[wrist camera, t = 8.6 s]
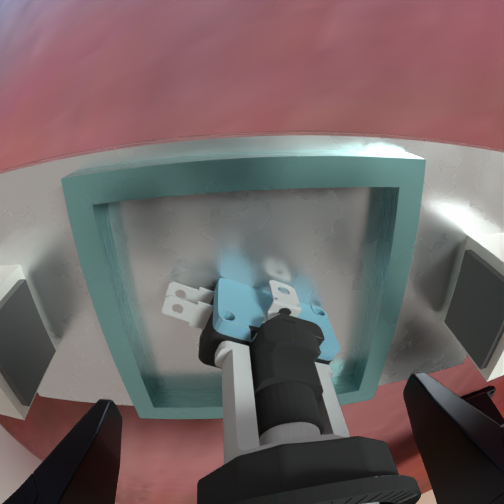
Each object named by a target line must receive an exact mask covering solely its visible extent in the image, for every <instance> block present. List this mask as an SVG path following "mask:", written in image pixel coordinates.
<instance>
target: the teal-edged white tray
mask: <svg viewBox="0 0 504 504" xmlns="http://www.w3.org/2000/svg"><path fill="white" fill-rule="evenodd" d="M498 233H504V149H499V148H493V147H487V146H482V145H476V144H469V143H462V142H455V141H448V140H440V139H432V138H423V137H413V136H402V135H390V134H375V133H357V132H327V131H276V132H246V133H227V134H212V135H200V136H188V137H178V138H169V139H160V140H152V141H144V142H136V143H129V144H122V145H116V146H110V147H104V148H98V149H92V150H86V151H81V152H76V153H71V154H66V155H61V156H56V157H52V158H47V159H43V160H38V161H34V162H30V163H26V164H22V165H18V166H14V167H10V168H7V169H3V170H0V266H2V265H16V264H20V265H21V268H22V271H23V274H24V276H25V279H26V282H27V285H28V287H29V290H30V293H31V295H32V298H33V300H34V303H35V305H36V308H37V310H38V312H39V315H40V317H41V319H42V322H43V324H44V326H45V329H46V331H47V333H48V335H49V337H50V339H51V342H52V344H53V346H54V348H55V350H56V354H55V356H54V358H53V360H52V362H51V364H50V366H49V368H48V370H47V372H46V374H45V376H44V378H43V380H42V382H41V385H40V387H39V389H38V391H37V392H38V394H39V395H40V396H42V397H48V398H55V399H63V400H71V401H80V402H89V403H96V402H97V401H98V400H99V399H111V400H113V401H114V403H115V405H130V406H134V407H135V409H136V411H137V413H138V415H139V417H140V418H149V419H216V418H223V401H222V369H220V368H217V367H213V366H209V365H206V364H204V363H202V362H201V361H200V360H199V358H198V354H199V340H200V335H201V333H202V330H203V329H200V328H196V327H193V326H190V325H189V323H190V322H188V321H185V320H182V319H178V318H175V317H172V316H169V315H166V314H163V313H162V308H163V305H164V302H165V299H166V297H165V296H166V293H167V290H168V287H169V284H170V282H172V281H173V282H176V283H179V284H182V285H185V286H188V287H191V288H194V289H197V290H199V288H200V287H202V288H205V289H208V290H211V291H214V290H215V288H216V285H217V283H218V281H219V279H221V278H225V279H229V280H232V281H235V282H238V283H241V284H244V285H247V286H250V287H253V288H256V289H260V290H263V291H266V292H269V293H271V292H270V287H269V283H268V282H269V281H270V280H275V281H278V282H281V283H284V284H287V285H290V286H291V287H292V288H294V289H295V291H296V294H297V297H298V300H299V302H300V303H304V304H307V305H310V306H311V305H313V306H316V307H319V308H321V309H322V310H324V311H325V312H326V314H327V316H328V318H329V319H328V320H329V322H330V325H331V327H332V329H333V332H334V334H335V336H336V339H337V341H338V344H339V346H340V350H339V352H338V353H337V354H336V356H335V357H334V358H333V360H332V361H331V362H330V364H329V366H330V368H331V371H332V373H333V376H332V378H331V381H332V384H333V387H334V390H335V393H336V396H337V399H338V402H339V405H345V404H350V403H356V402H361V401H366V400H370V399H373V397H374V395H375V392H376V389H377V386H379V385H384V384H388V383H393V382H397V381H401V380H406V379H409V376H410V375H411V374H413V373H416V372H421V371H422V372H425V373H426V374H429V373H432V372H436V371H440V370H443V369H446V368H450V367H453V366H456V365H460V364H463V362H464V360H465V358H466V356H467V354H466V353H465V351H464V350H463V349H462V347H461V346H460V345H459V343H458V342H457V341H456V339H455V338H454V337H453V336H452V334H451V333H450V332H449V330H448V329H447V328H446V327H445V325H444V324H443V321H444V319H445V316H446V313H447V310H448V307H449V304H450V300H451V297H452V294H453V291H454V287H455V284H456V280H457V277H458V273H459V270H460V266H461V262H462V258H463V254H464V250H465V246H466V241H467V237H468V235H480V234H498ZM278 290H279V291H280V292H281V293H283V294H286V295H289V293H288V292H287V291H286V290H284V289H282V288H278ZM175 295H176V296H177V297H179V298H183V297H185V295H186V294H185V292H184V291H183V290H177V291H176V292H175ZM172 309H173V311H175V312H181V311H183V307H182V306H181V305H179V304H174V305H173V306H172Z"/></svg>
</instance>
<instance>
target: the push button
mask: <svg viewBox="0 0 504 504" xmlns="http://www.w3.org/2000/svg"><path fill="white" fill-rule="evenodd" d="M268 283H269V287H270V292H271V293H269V292H266V291H263V290H260V289H256V288H253V287H250V286H247V285H244V284H241V283H238V282H235V281H232V280H229V279H225V278H221V279H219V281H218V283H217V285H216V288H215V290H214V291H211V290H208V289H205V288H202V287H200V288H199V290H197V289H194V288H191V287H188V286H185V285H182V284H179V283H176V282H173V281H172V282H170V284H169V287H168V290H167V293H166V296H165V297H166V299H165V302H164V305H163V308H162V313H163V314H166V315H169V316H172V317H175V318H178V319H182V320H185V321H188V322H190V323H189V325H190V326H193V327H196V328H200V329H203V330H202V333H201V335H200V340H199V354H198V358H199V360H200V361H201V362H202V363H204V364H206V365H209V366H213V367H217V368H220V369H222V401H223V443H224V465H223V466H221V467H220V468H218V469H216V470H215V471H213V472H212V473H210V474H208V475H207V476H205V477H203V478H202V479H200V480H199V482H198V484H197V504H416V502H417V501H418V500H419V499H420V497H421V492H420V489H419V487H418V484H417V482H416V480H415V479H414V478H412V477H409V476H404V475H399V474H398V471H397V468H396V466H395V463H394V460H393V458H392V455H391V453H390V450H389V447H388V445H387V443H385V442H384V441H380V440H375V439H370V438H365V437H361V436H354V437H350V435H349V432H348V429H347V426H346V423H345V420H344V417H343V414H342V411H341V408H340V405H339V402H338V399H337V396H336V393H335V390H334V387H333V384H332V381H331V378H332V376H333V373H332V371H331V368H330V366H329V364H330V362H331V361H332V360H333V358H334V357H335V356H336V354H337V353H338V352H339V350H340V346H339V344H338V341H337V339H336V336H335V334H334V332H333V329H332V327H331V325H330V322H329V320H328V319H329V318H328V316H327V314H326V312H325V311H324V310H322V309H321V308H319V307H316V306H313V305H311V306H310V305H307V304H304V303H300V302H299V300H298V297H297V294H296V291H295V289H294V288H292V287H291V286H290V285H287V284H284V283H281V282H278V281H275V280H270V281H269V282H268ZM278 288H282V289H284V290H286V291H287V292H288V293H289V295H286V294H283V293H281V292H280V291H279V290H278ZM177 290H183V291H184V292H185V294H186V295H185V297H183V298H179V297H177V296H176V295H175V292H176V291H177ZM174 304H179V305H181V306H182V307H183V311H181V312H175V311H173V309H172V306H173V305H174Z"/></svg>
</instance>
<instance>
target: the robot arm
mask: <svg viewBox="0 0 504 504" xmlns="http://www.w3.org/2000/svg"><path fill="white" fill-rule="evenodd" d="M495 391H496V388H495V387H494V386H491V387H489V388H487V389H484V390H482V391H479V392H477V393H474V394H472V395H469V396H467V397H464V398H460V397H459V396H458V395H456V394H455V393H453V392H452V391H450V390H449V389H448V388H446V387H445V386H443V385H442V384H440V383H439V382H438V381H436V380H435V379H433V378H432V377H430V376H429V375H428V374H426V373H425V372H422V371H421V372H416V373H413V374H411V375H410V376H409V379H408V381H407V384H406V386H405V388H404V392H403V396H404V400H405V404H406V408H407V411H408V415H409V419H410V423H411V427H412V431H413V435H414V438H415V441H416V443H417V446H418V449H419V452H420V454H421V457H422V460H423V463H424V466H425V469H426V471H427V474H428V477H429V480H430V483H431V486H432V489H433V492H434V495H435V498H436V502H437V504H504V419H503V417H502V416H501V414H500V412H499V411H498V409H497V408H496V406H495V405H494V403H493V402H492V400H491V397H492V396H493V394H494V393H495ZM121 432H122V417H121V414H120V412H119V411H118V409H117V407H116V405H115V403H114V401H113V400H111V399H99V400H98V401H97V402H96V403H95V404H94V405H93V406H92V408H91V409H90V410H89V411H88V412H87V413H86V414H85V415H84V416H83V417H82V419H81V420H80V421H79V422H78V423H77V424H76V425H75V426H74V427H73V429H72V430H71V431H70V432H69V433H68V434H67V435H66V436H65V437H64V439H63V440H62V441H61V442H60V443H59V444H58V445H57V446H56V447H55V449H54V450H53V451H52V452H51V453H50V454H49V455H48V456H47V457H46V459H45V460H44V461H43V462H42V463H41V464H40V465H39V466H38V468H37V469H36V470H35V471H34V474H31V475H30V476H29V478H28V479H27V480H26V481H25V482H24V483H23V484H22V485H21V486H20V488H19V489H17V490H16V492H14V493H13V494H12V495H11V496H10V497H9V498H8V499H7V500H6V501H5V502H4V503H2V504H115V497H116V489H117V482H118V475H119V468H120V454H121Z"/></svg>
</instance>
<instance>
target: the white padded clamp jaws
mask: <svg viewBox="0 0 504 504" xmlns="http://www.w3.org/2000/svg"><path fill="white" fill-rule="evenodd" d="M443 324H444V325H445V327H446V328H447V329H448V330H449V332H450V333H451V334H452V336H453V337H454V338H455V339H456V341H457V342H458V343H459V345H460V346H461V347H462V349H463V350H464V351H465V353H466V354H467V355H468V357H469V358H470V359H471V361H472V362H473V364H474V365H475V366H476V368H477V369H478V370H479V372H480V373H481V375H482V376H483V378H484V379H485V380H486V382H487V381H490V380H492V379H495V378H497V377H499V376H502V375H504V233H498V234H480V235H468V237H467V241H466V246H465V250H464V254H463V258H462V262H461V266H460V270H459V273H458V277H457V280H456V284H455V287H454V291H453V294H452V297H451V300H450V304H449V307H448V310H447V313H446V316H445V319H444V321H443ZM55 354H56V350H55V348H54V346H53V344H52V342H51V339H50V337H49V335H48V333H47V331H46V329H45V326H44V324H43V322H42V319H41V317H40V315H39V312H38V310H37V308H36V305H35V303H34V300H33V298H32V295H31V293H30V290H29V287H28V285H27V282H26V279H25V276H24V274H23V271H22V268H21V265H20V264H16V265H2V266H0V414H2V415H5V416H9V417H13V418H17V419H22V420H25V418H26V416H27V414H28V411H29V409H30V407H31V404H32V402H33V400H34V398H35V395H36V393H37V391H38V389H39V387H40V385H41V382H42V380H43V378H44V376H45V374H46V372H47V370H48V368H49V366H50V364H51V362H52V360H53V358H54V356H55Z"/></svg>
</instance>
